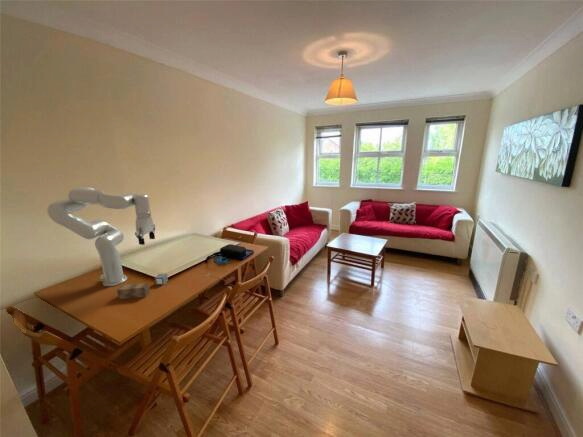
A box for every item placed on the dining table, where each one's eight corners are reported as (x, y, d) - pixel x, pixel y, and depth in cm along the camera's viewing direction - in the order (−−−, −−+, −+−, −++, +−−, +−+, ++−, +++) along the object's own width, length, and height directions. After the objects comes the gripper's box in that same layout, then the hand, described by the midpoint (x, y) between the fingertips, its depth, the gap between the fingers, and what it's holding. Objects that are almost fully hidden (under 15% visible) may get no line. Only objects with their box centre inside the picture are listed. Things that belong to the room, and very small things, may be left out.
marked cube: (155, 285, 147) (154, 277, 146) (160, 280, 152) (159, 273, 151) (163, 285, 147) (162, 277, 146) (168, 280, 152) (167, 273, 151)
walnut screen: (119, 299, 133) (116, 289, 131) (123, 294, 138) (121, 285, 136) (146, 297, 135) (144, 287, 134) (149, 292, 140) (148, 283, 138)
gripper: (147, 211, 152) (150, 236, 156) (127, 218, 135) (131, 246, 140) (158, 211, 151) (161, 237, 156) (139, 218, 135) (143, 247, 139)
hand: (147, 241), depth 148 cm, fingers open, 9 cm apart
